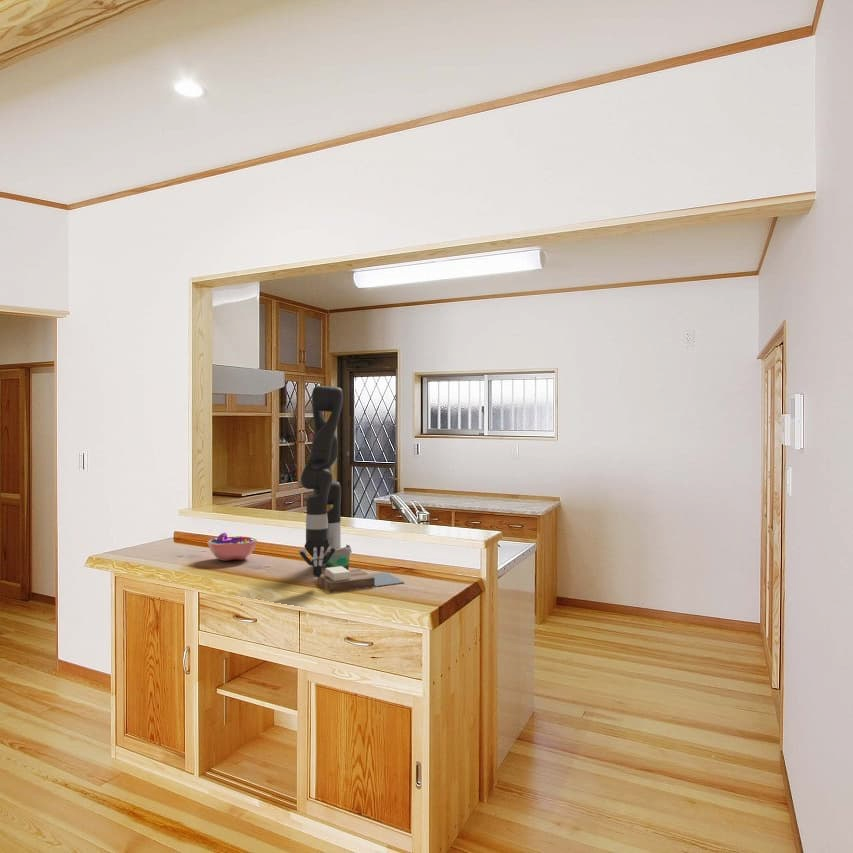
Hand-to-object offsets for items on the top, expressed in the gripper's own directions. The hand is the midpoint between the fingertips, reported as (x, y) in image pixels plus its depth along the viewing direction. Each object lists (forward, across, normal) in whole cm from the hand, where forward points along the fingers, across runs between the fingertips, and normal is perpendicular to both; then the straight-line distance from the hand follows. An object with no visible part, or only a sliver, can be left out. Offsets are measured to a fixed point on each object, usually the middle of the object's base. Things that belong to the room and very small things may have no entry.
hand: (317, 576), depth 217 cm
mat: (+4, -24, 0) cm, 24 cm away
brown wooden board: (+4, -10, 0) cm, 11 cm away
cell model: (+4, +19, -57) cm, 60 cm away
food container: (+4, -13, -14) cm, 20 cm away
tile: (0, -8, 0) cm, 8 cm away
